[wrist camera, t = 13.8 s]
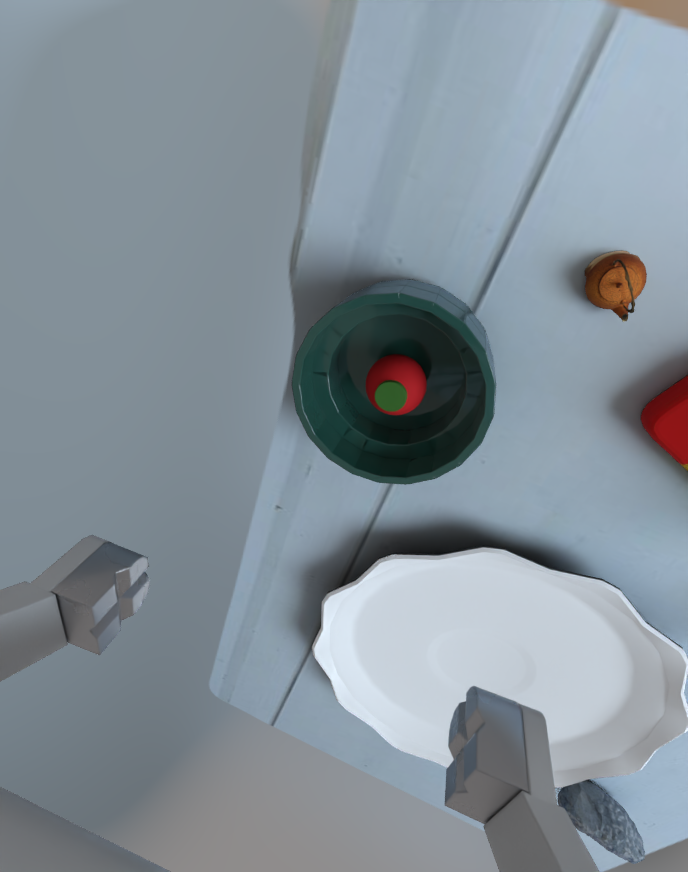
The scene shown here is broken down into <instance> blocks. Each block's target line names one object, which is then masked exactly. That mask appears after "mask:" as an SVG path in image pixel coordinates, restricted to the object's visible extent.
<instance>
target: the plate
mask: <svg viewBox="0 0 688 872" xmlns="http://www.w3.org/2000/svg"><path fill="white" fill-rule="evenodd" d="M312 650H313V656H314V657H315V659H316V660H317V662H318V663H319V664H320V666H321V667H322V669H323V670H324V672H325V673H326V674H327V676H328V677H329V679H330V682H331V685H332V688H333V691H334V694H335V697H336V700H337V701H338V702H339V703H340V704H341V705H342V707H343V708H344V709H346V710H347V711H349V712H350V713H352V714H353V715H355V716H356V717H358V718H359V719H361V720H362V721H364V722H365V723H367V724H368V725H370V726H371V727H372V728H373V729H375V730H376V731H377V732H378V733H379V734H380V735H381V736H382V737H383V738H384V739H385V740H386V741H387V742H388V743H389V744H390V745H392V746H394V747H395V748H397V749H399V750H401V751H402V752H406V753H409V754H412V755H415V756H418V757H421V758H424V759H427V760H431V761H434V762H436V763H438V764H440V765H442V766H444V767H446V768H448V767H449V765H450V764H451V763H452V761H453V760H454V759H453V756H452V754H451V752H450V750H449V747H448V739H449V730H450V723H451V720H452V717H453V713H454V711H455V709H456V707H457V706H458V704H459V703H461V702H465V701H466V692H467V691H468V690H469V688H470V687H472V686H476V687H479V688H481V689H484V690H487V691H489V692H492V693H495V694H497V695H500V696H503V697H505V698H508V699H511V700H513V701H516V702H517V703H519V704H522V705H525V706H527V707H530V708H533V709H535V710H538V711H540V712H541V713H543V715H544V717H545V719H546V724H547V732H548V739H549V747H550V755H551V762H552V770H553V777H554V785H555V788H562V787H565V786H569V785H572V784H575V783H578V782H582V781H585V780H588V779H594V778H604V777H614V776H624V775H630V774H632V773H635V772H637V771H639V770H642V769H643V768H644V766H645V765H646V764H647V762H648V761H649V760H650V759H651V757H652V756H653V755H654V753H655V752H656V751H657V750H658V749H659V748H660V747H662V746H664V745H665V744H667V743H669V742H670V741H672V740H674V739H675V738H677V737H679V736H680V735H682V734H684V733H685V732H687V731H688V705H687V702H686V698H685V695H684V689H685V684H686V679H687V674H688V658H687V656H686V654H685V652H684V650H683V648H682V647H681V646H680V645H678V644H677V643H675V642H674V641H672V640H671V639H670V638H668V637H667V636H665V635H664V634H663V633H661V632H660V631H658V630H657V629H656V628H654V627H653V626H651V625H650V624H649V623H647V622H646V621H645V620H644V619H643V618H642V617H641V615H640V614H639V613H638V611H637V610H636V609H635V608H634V606H633V605H632V604H631V603H630V601H629V600H628V599H627V597H626V596H625V595H624V594H623V592H622V591H621V590H620V589H619V588H618V587H616V586H614V585H612V584H610V583H609V582H607V581H605V580H603V579H600V578H595V577H591V576H586V575H581V574H577V573H572V572H567V571H562V570H558V569H553V568H549V567H546V566H544V565H542V564H540V563H537V562H535V561H533V560H530V559H528V558H526V557H523V556H521V555H519V554H516V553H514V552H512V551H509V550H507V549H505V548H499V547H490V546H479V547H474V548H469V549H463V550H458V551H453V552H447V553H442V554H413V553H392V554H389V555H386V556H383V557H380V558H379V559H378V560H377V561H375V562H374V563H373V564H372V565H371V566H370V567H369V568H368V569H367V570H366V571H365V572H364V573H363V574H362V575H361V576H359V577H358V578H357V579H356V580H354V581H351V582H349V583H347V584H345V585H343V586H340V587H338V588H336V589H334V590H332V591H329V592H328V593H327V595H326V596H325V597H324V599H323V600H322V612H321V628H320V631H319V633H318V635H317V637H316V639H315V641H314V643H313V645H312Z"/></svg>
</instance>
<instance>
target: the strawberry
mask: <svg viewBox="0 0 688 872" xmlns="http://www.w3.org/2000/svg"><path fill="white" fill-rule="evenodd" d="M426 386H427V382H426V376H425V373H424V371H423V369H422V368H421V366H420V365H419V364H418V363H417V362H416V361H415V360H413V359H412V358H410V357H408V356H405V355H400V354H393V355H388V356H385V357H383V358H381V359H379V360H378V361H377V362H376V363H375V364H374V365H373V366H372V367H371V369H370V370H369V372H368V375H367V378H366V393H367V396H368V398H369V400H370V402H371V403H372V404H373V406H374V407H375V408H377V409H378V410H379V411H381V412H383V413H386V414H389V415H402V414H406V413H408V412H410V411H412V410H414V409H415V408H416V407H417V406H418V405H419V404H420V403H421V401H422V400H423V398H424V395H425V392H426Z"/></svg>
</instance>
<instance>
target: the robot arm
mask: <svg viewBox="0 0 688 872" xmlns="http://www.w3.org/2000/svg"><path fill="white" fill-rule="evenodd" d="M148 567H149V563H148V557H145V556H143V555H141V554H138V553H136V552H133V551H131V550H128V549H125V548H123V547H121V546H118V545H115V544H113V543H111V542H109V541H107V540H104V539H102V538H99V537H96V536H94V535H90V536H88V537H85V538H83V539H82V540H81V541H80V542H78V543H77V544H76V545H75V546H74V547H73V548H71V549H70V550H69V551H68V552H67V553H66V554H64V555H63V556H62V557H61V558H60V559H58V561H56V562H55V563H54V564H53V565H51V566H50V567H49V568H48V569H47V570H45V571H44V572H43V573H42V574H41V575H40V576H38V578H36V579H35V580H34V581H33V582H31V583H28V582H22V583H19V584H16V585H13V586H10V587H7V588H5V589H2V590H0V681H2V680H4V679H6V678H8V677H10V676H11V675H13V674H15V673H17V672H18V671H20V670H22V669H24V668H26V667H28V666H30V665H31V664H33V663H35V662H37V661H39V660H41V659H42V658H44V657H46V656H48V655H50V654H52V653H53V652H55V651H57V650H59V649H61V648H63V647H64V646H66V645H67V642H68V643H71V644H73V645H75V646H78V647H80V648H83V649H85V650H88V651H90V652H93V653H96V654H98V655H100V654H101V653H102V652H103V651H104V650H105V649H106V647H107V646H108V645H109V644H110V643H111V641H112V640H113V639H114V638H115V637H116V635H117V634H118V633H119V632H120V630H121V620H124V619H126V618H128V617H130V616H132V615H134V614H135V613H136V611H137V610H138V609H139V608H140V606H141V605H142V603H143V601H144V600H145V598H146V596H147V594H148V590H149V586H150V579H149V577H148V575H147V574H146V573H145V570H146V569H147V568H148ZM448 747H449V750H450V752H451V754H452V756H453V759H454V760H453V761H452V763H451V764H450V765H449V767H448V768H447V771H446V790H445V806H447V807H449V808H451V809H453V810H456V811H458V812H460V813H462V814H464V815H466V816H468V817H470V818H473V819H475V820H477V821H479V822H481V823H483V824H485V825H484V826H483V827H484V829H485V832H486V835H487V837H488V841H489V843H490V846H491V849H492V852H493V854H494V857H495V860H496V863H497V866H498V869H499V872H600V871H599V870H598V868H597V866H596V864H595V862H594V861H593V859H592V857H591V855H590V853H589V852H588V850H587V848H586V846H585V844H584V843H583V841H582V839H581V837H580V835H579V834H578V832H577V830H576V828H575V826H574V825H573V823H572V821H571V819H570V817H569V816H568V814H567V812H566V810H565V809H564V808H562V807H560V806H558V805H557V800H556V792H555V785H554V777H553V770H552V762H551V755H550V747H549V739H548V732H547V724H546V719H545V717H544V715H543V713H541V712H540V711H538V710H535V709H533V708H530V707H527V706H525V705H522V704H519V703H517V702H516V701H513V700H511V699H508V698H505V697H503V696H500V695H497V694H495V693H492V692H489V691H487V690H484V689H481V688H479V687H476V686H472V687H470V688H469V690H468V691H467V692H466V701H465V702H461V703H459V704H458V706H457V707H456V709H455V711H454V713H453V717H452V720H451V723H450V730H449V739H448ZM0 872H171V871H169V870H167V869H164V868H163V867H160V866H158V865H156V864H154V863H152V862H150V861H148V860H146V859H144V858H142V857H140V856H138V855H136V854H134V853H132V852H130V851H128V850H126V849H124V848H122V847H120V846H118V845H116V844H114V843H112V842H110V841H108V840H106V839H104V838H102V837H100V836H98V835H96V834H94V833H92V832H90V831H88V830H86V829H84V828H82V827H80V826H78V825H76V824H74V823H72V822H70V821H68V820H66V819H64V818H62V817H60V816H58V815H56V814H54V813H52V812H50V811H48V810H46V809H44V808H42V807H40V806H38V805H36V804H34V803H32V802H30V801H28V800H26V799H24V798H22V797H20V796H18V795H16V794H14V793H12V792H10V791H8V790H6V789H4V788H2V787H0Z"/></svg>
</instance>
